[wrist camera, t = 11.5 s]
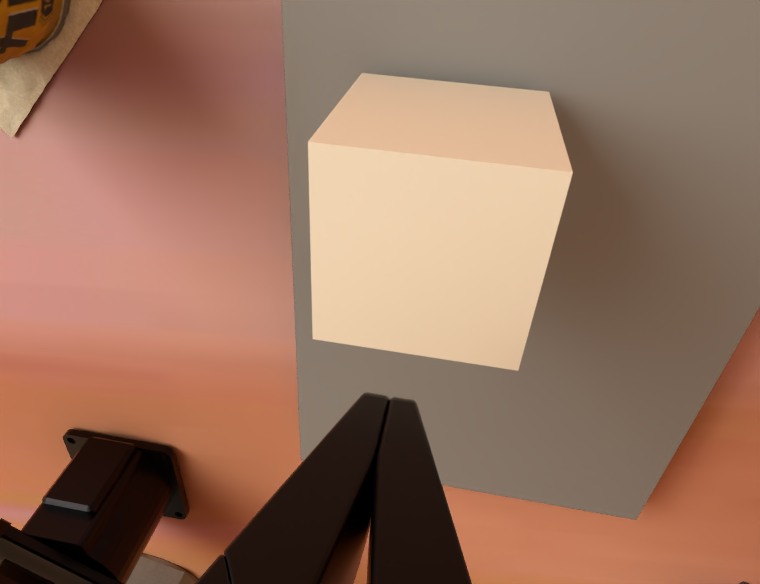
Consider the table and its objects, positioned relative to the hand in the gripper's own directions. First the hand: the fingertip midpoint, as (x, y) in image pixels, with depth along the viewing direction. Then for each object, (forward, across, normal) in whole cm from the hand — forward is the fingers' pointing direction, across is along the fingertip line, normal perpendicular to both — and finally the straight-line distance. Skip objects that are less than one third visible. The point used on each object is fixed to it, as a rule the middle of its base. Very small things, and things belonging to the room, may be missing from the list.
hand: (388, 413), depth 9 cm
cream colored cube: (+10, 0, 0) cm, 10 cm away
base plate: (+12, -3, +5) cm, 13 cm away
